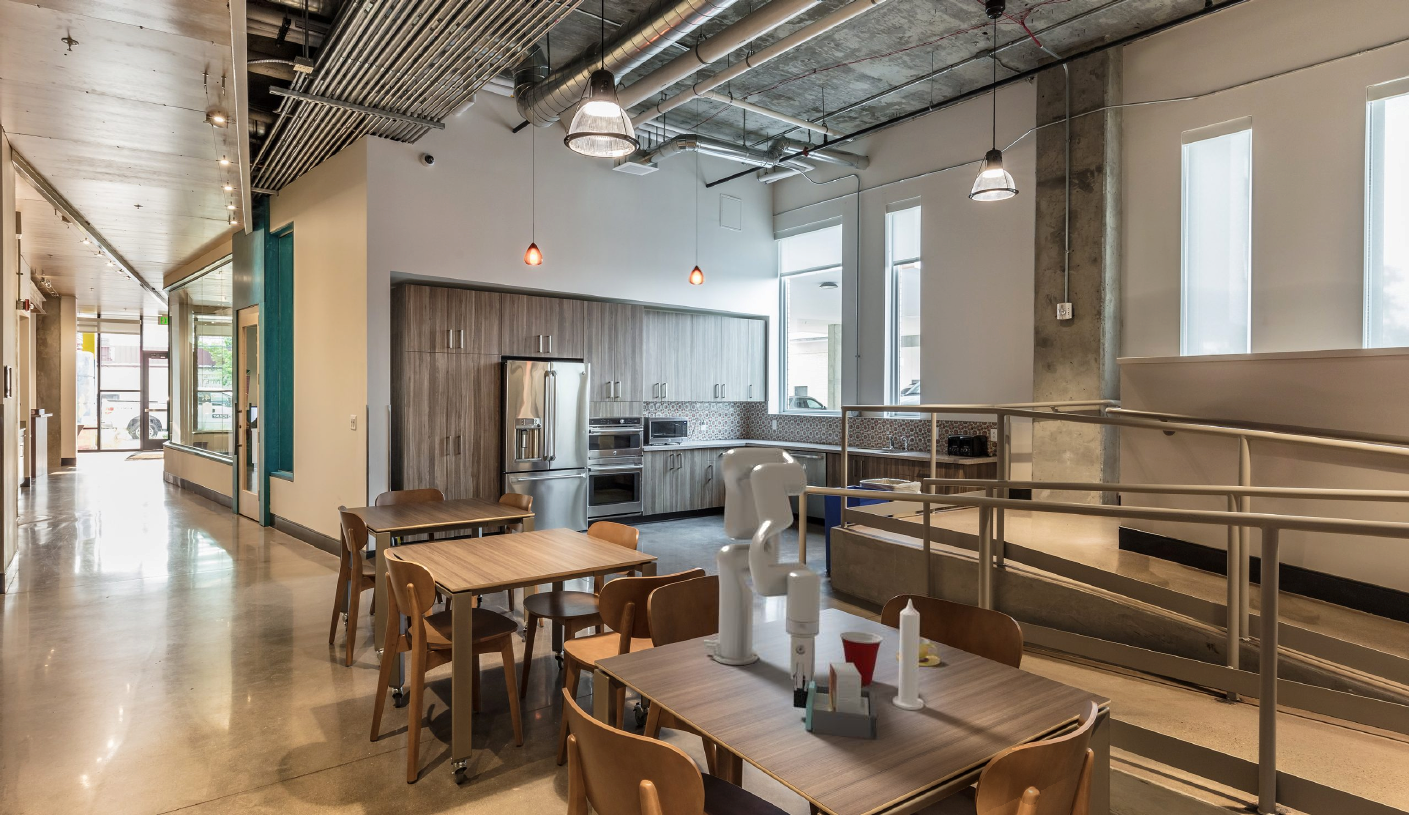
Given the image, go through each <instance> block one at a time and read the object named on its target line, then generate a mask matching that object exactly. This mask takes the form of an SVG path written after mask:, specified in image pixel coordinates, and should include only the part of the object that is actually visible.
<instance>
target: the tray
mask: <svg viewBox="0 0 1409 815" xmlns="http://www.w3.org/2000/svg"><path fill="white" fill-rule="evenodd" d="M808 684H809V686H808V697H807V703H806V708H805V730H807V731H812V728H813V709H815V710H824V711H831V710H830V708H829V694H824V693H816V681H814V680H813V681H812V682H810V681H809V683H808ZM860 714H863V715H869V709H868V698H865V697H861V702H860Z"/></svg>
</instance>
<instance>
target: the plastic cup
mask: <svg viewBox="0 0 1409 815" xmlns="http://www.w3.org/2000/svg"><path fill="white" fill-rule="evenodd" d="M839 637H840V639H841V642H842V648H843V653H844V659H845V663H854V665H855V667H856V669H857V670H858V672H859V673H860V675H861V687H863V686H869V685H871V684H872V681H873V678H874V671H875V666H876V663H877V656H878V652H879V648H880V646H881V643H882V642H883V638H884V637H882V636H880V635H878V634H876V633H872V632H871V633H870V632H865V631H855V630H854V631H853V630H851V631H850V630H849V631H842V632H840V634H839Z"/></svg>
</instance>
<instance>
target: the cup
mask: <svg viewBox="0 0 1409 815" xmlns="http://www.w3.org/2000/svg"><path fill="white" fill-rule="evenodd" d="M930 643H931V642H930V640H929V639H927V638H923V637H919V667H932V666H936V665H939V664H940V663H941V659H940V658H939V657H938V656H935V655H936V653H937V647H936V646H935V645H934V644H930ZM930 648H931V649H933V651H932V652H929V650H930ZM895 658H896V659H897V660H898V661H899V652H898V653H896V655H895ZM926 658H927V659H928V661H926V662H922V661H923V660H925V659H926Z"/></svg>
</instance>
